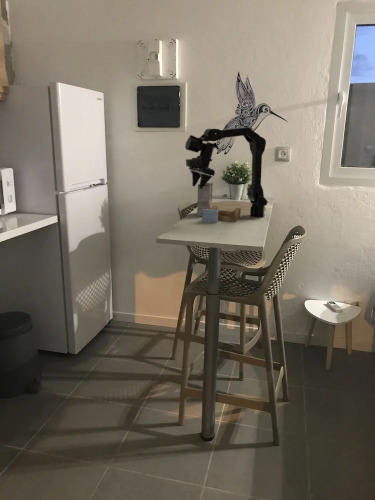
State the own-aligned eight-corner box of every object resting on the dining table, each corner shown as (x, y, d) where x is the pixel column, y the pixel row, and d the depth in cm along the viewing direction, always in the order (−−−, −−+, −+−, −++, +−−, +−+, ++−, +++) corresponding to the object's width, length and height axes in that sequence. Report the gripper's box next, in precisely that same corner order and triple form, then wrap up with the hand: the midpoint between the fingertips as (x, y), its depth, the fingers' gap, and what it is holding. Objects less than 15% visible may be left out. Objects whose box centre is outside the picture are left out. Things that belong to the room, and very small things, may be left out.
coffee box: (199, 212, 212) (200, 182, 207) (211, 213, 211) (213, 183, 206) (196, 215, 203) (197, 184, 199) (209, 216, 202) (210, 185, 197)
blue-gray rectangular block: (217, 222, 190) (218, 210, 188) (216, 223, 188) (217, 210, 186) (203, 221, 192) (204, 208, 190) (202, 221, 190) (202, 209, 188)
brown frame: (240, 218, 201) (240, 208, 199) (235, 221, 192) (236, 211, 190) (213, 215, 205) (213, 205, 204) (207, 219, 196) (208, 209, 195)
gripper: (183, 149, 194) (175, 181, 197) (197, 151, 177) (188, 186, 180) (203, 155, 198) (195, 186, 201) (219, 158, 181) (210, 191, 184)
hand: (196, 187), depth 192 cm, fingers open, 9 cm apart
